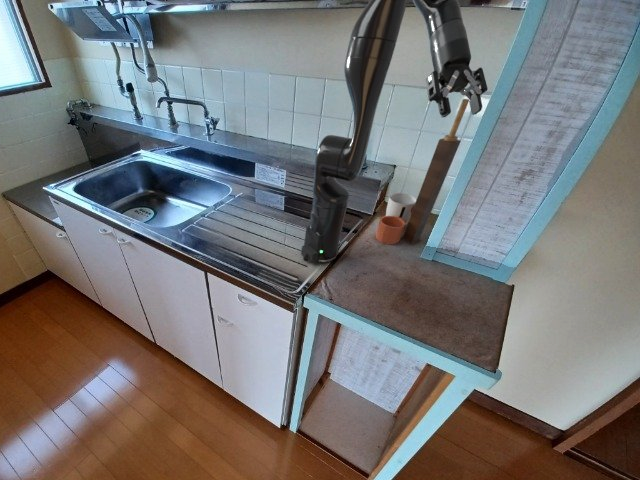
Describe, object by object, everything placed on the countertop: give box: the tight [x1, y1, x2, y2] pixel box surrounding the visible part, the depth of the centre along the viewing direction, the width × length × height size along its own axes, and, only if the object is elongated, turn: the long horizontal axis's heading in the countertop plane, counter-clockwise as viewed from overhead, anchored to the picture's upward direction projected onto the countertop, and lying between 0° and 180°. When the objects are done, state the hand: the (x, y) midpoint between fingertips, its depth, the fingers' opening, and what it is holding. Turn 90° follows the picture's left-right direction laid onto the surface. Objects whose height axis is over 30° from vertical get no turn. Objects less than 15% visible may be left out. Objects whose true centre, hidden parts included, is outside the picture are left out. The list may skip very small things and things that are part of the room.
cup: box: [385, 192, 417, 223], centre depth 106 cm, size 8×8×10 cm
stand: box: [401, 137, 462, 245], centre depth 93 cm, size 4×4×30 cm
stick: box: [443, 98, 470, 142], centre depth 80 cm, size 3×3×9 cm
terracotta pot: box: [375, 215, 407, 245], centre depth 102 cm, size 7×7×6 cm
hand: (461, 114), depth 78 cm, fingers open, 8 cm apart
